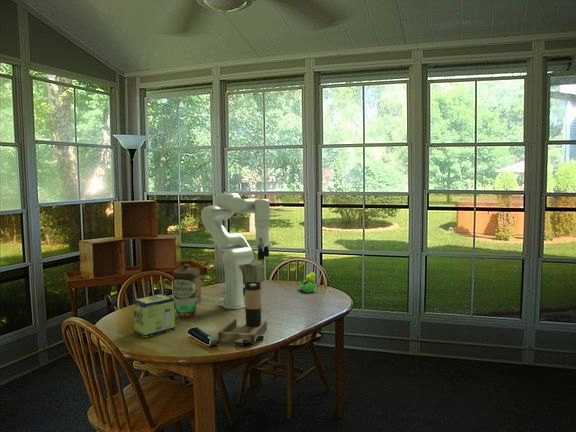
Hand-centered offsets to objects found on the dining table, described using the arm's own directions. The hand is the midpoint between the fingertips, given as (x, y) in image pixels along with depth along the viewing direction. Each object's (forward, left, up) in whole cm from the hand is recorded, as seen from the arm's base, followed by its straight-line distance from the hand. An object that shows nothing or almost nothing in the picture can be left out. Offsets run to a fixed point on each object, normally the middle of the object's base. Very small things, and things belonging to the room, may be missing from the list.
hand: (263, 257), depth 239 cm
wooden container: (-50, +17, -30) cm, 61 cm away
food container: (-38, -10, -30) cm, 50 cm away
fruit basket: (+12, +56, -30) cm, 65 cm away
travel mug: (-1, -15, -30) cm, 34 cm away
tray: (-1, -30, -30) cm, 42 cm away
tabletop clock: (-24, +52, -30) cm, 65 cm away
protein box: (-43, -33, -30) cm, 62 cm away
